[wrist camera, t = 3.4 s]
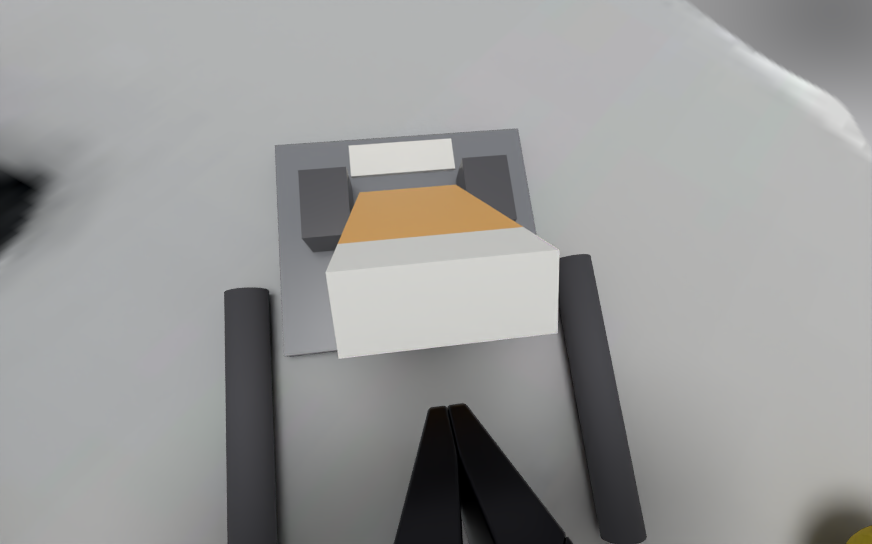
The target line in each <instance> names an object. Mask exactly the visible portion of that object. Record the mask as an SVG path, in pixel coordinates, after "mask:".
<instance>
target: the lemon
mask: <svg viewBox="0 0 872 544" xmlns="http://www.w3.org/2000/svg"><path fill="white" fill-rule="evenodd" d="M846 544H872V525H871V526H868V527H866V528H863V529H861V530H859V531H858V532H857V533H855V534H854V535H853V536H851V537H850V538H849V540H848V541H847V543H846Z"/></svg>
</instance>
